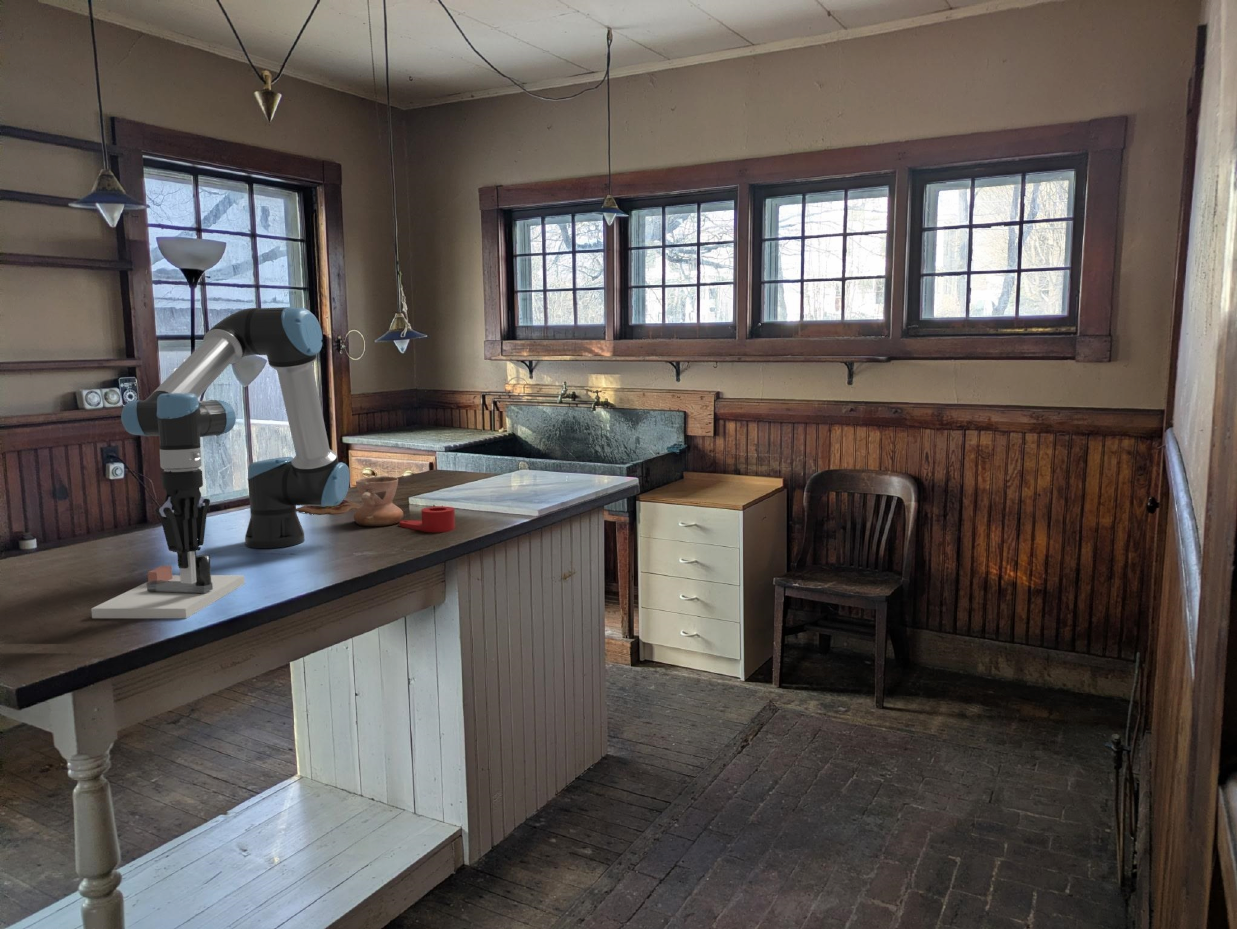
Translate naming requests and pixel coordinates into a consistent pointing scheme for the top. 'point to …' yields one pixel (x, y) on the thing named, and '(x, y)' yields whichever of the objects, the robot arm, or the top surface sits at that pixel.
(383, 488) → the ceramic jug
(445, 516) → the lever
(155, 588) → the swing bar
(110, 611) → the board
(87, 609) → the top surface
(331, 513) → the plant
